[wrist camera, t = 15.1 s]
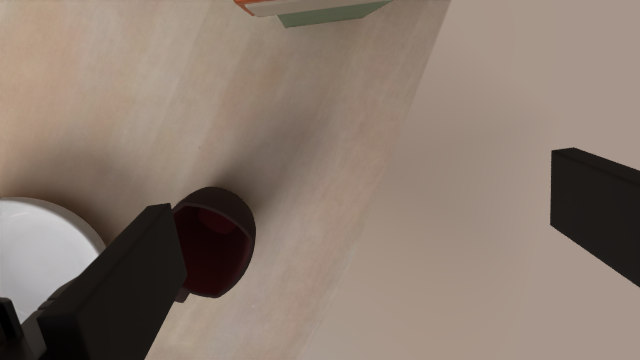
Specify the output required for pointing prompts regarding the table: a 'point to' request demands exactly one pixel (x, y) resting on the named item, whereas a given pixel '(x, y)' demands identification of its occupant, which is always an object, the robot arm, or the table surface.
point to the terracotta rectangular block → (292, 5)
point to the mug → (213, 241)
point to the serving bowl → (41, 250)
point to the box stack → (329, 14)
